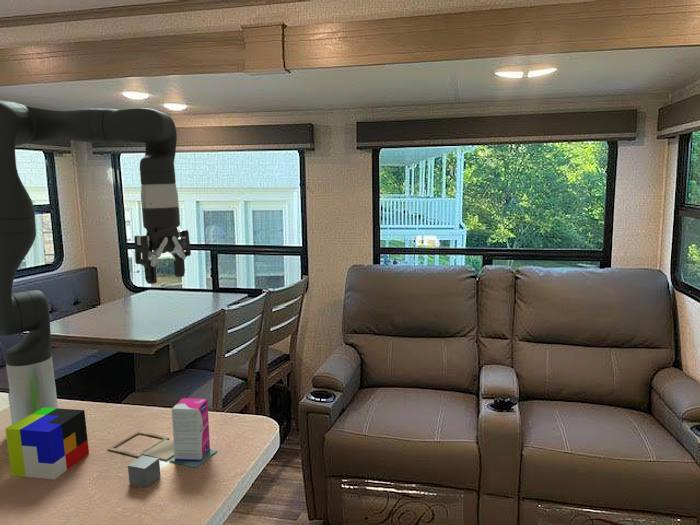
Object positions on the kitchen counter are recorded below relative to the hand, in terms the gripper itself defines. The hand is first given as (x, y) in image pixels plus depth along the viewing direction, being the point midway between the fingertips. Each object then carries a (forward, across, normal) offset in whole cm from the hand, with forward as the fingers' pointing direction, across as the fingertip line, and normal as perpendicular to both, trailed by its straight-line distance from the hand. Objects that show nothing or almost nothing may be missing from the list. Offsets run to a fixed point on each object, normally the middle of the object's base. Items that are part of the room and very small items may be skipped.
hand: (166, 279), depth 116 cm
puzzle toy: (+36, -20, +16) cm, 45 cm away
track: (+36, -7, -2) cm, 37 cm away
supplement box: (+36, -7, -10) cm, 38 cm away
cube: (+36, -18, -7) cm, 41 cm away
